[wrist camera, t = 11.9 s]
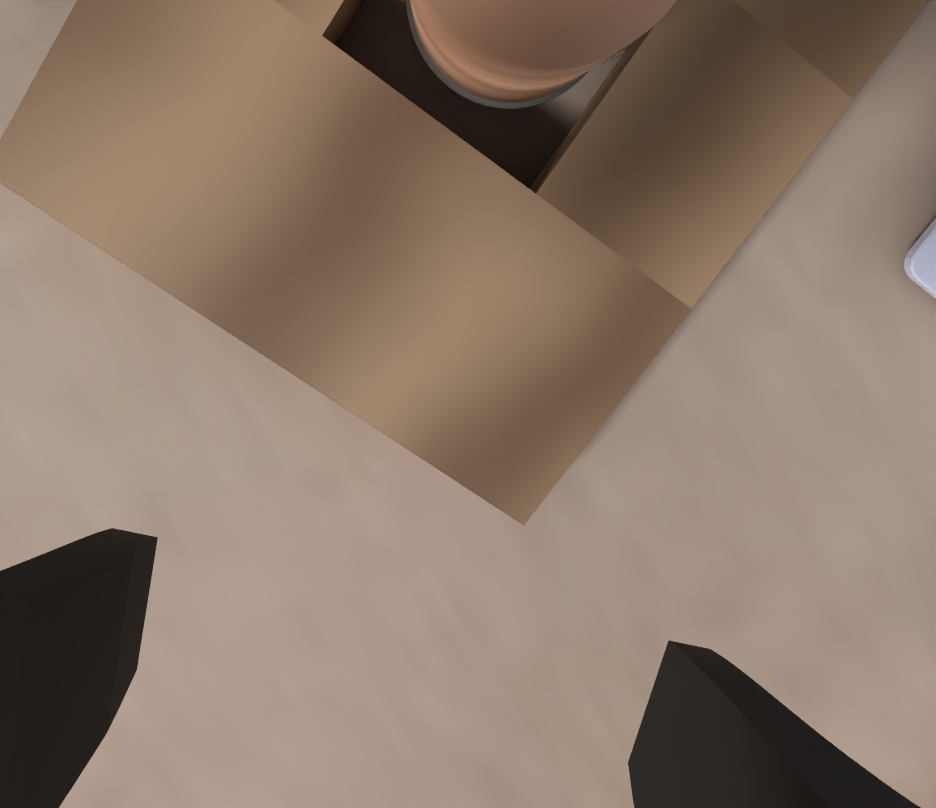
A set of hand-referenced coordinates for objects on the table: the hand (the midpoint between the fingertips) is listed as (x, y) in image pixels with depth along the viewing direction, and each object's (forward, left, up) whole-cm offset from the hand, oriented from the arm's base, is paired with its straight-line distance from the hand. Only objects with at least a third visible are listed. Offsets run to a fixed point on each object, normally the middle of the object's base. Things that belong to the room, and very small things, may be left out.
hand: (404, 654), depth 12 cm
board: (+4, -9, -10) cm, 14 cm away
